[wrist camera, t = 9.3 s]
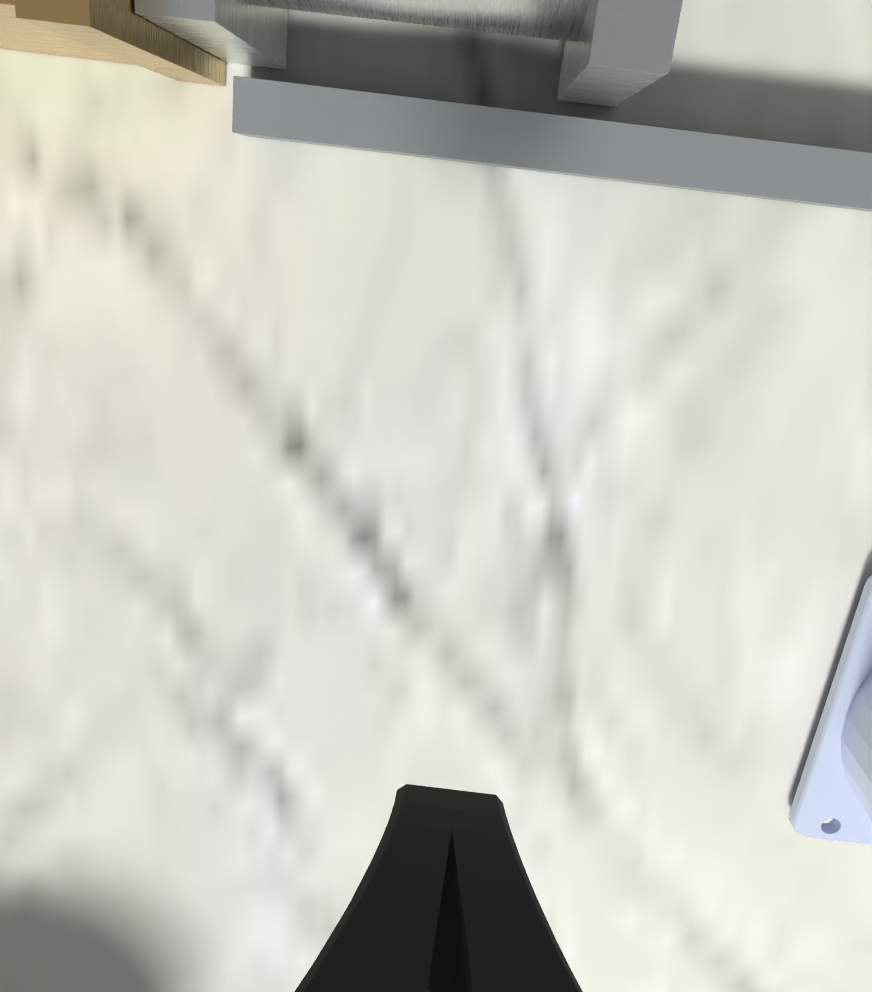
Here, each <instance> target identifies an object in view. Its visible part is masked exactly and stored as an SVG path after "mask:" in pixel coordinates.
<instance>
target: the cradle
mask: <svg viewBox="0 0 872 992" xmlns="http://www.w3.org/2000/svg"><path fill="white" fill-rule="evenodd" d="M232 132H234V133H238V134H242V135H245V136H251V137H259V138H267V139H276V140H284V141H292V142H300V143H309V144H317V145H325V146H334V147H342V148H350V149H358V150H367V151H375V152H383V153H392V154H400V155H408V156H416V157H425V158H433V159H441V160H450V161H458V162H466V163H474V164H483V165H491V166H499V167H508V168H516V169H524V170H532V171H541V172H549V173H557V174H566V175H574V176H582V177H590V178H599V179H607V180H615V181H624V182H632V183H640V184H648V185H657V186H665V187H673V188H682V189H690V190H698V191H706V192H715V193H723V194H731V195H740V196H748V197H756V198H764V199H773V200H781V201H789V202H798V203H806V204H814V205H822V206H831V207H839V208H847V209H856V210H864V211H872V153H869V152H860V151H852V150H844V149H835V148H827V147H819V146H811V145H802V144H794V143H786V142H777V141H769V140H761V139H753V138H744V137H736V136H728V135H720V134H711V133H703V132H695V131H686V130H678V129H670V128H662V127H653V126H645V125H637V124H628V123H620V122H612V121H604V120H595V119H587V118H579V117H570V116H562V115H554V114H546V113H537V112H529V111H521V110H512V109H504V108H496V107H488V106H479V105H471V104H463V103H454V102H446V101H438V100H430V99H421V98H413V97H405V96H396V95H388V94H380V93H372V92H363V91H355V90H347V89H338V88H330V87H322V86H314V85H305V84H297V83H289V82H280V81H272V80H264V79H256V78H247V77H239V76H234V81H233V123H232Z"/></svg>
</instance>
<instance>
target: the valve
mask: <svg viewBox="0 0 872 992" xmlns="http://www.w3.org/2000/svg"><path fill="white" fill-rule="evenodd" d="M0 48H2V49H10V50H19V51H27V52H35V53H44V54H52V55H60V56H68V57H77V58H85V59H93V60H102V61H110V62H118V63H126V64H135V65H139V66H142V67H144V68H147V69H149V70H152V71H154V72H157V73H160V74H162V75H165V76H167V77H170V78H173V79H175V80H178V81H187V82H195V83H203V84H211V85H220V86H225V80H226V61H224V60H222V59H220V58H218V57H216V56H214V55H213V54H211V53H209V52H207V51H205V50H203V49H201V48H200V47H198V46H196V45H194V44H192V43H190V42H188V41H187V40H185V39H183V38H181V37H179V36H177V35H175V34H174V33H172V32H170V31H168V30H166V29H164V28H162V27H160V26H159V25H157V24H155V23H153V22H151V21H149V20H147V19H146V18H144V17H142V16H140V15H138V14H136V13H135V0H0Z"/></svg>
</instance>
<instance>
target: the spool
mask: <svg viewBox="0 0 872 992" xmlns="http://www.w3.org/2000/svg"><path fill="white" fill-rule="evenodd" d="M682 1H683V0H135V13H136V14H138V15H140V16H142V17H144V18H146V19H147V20H149V21H151V22H153V23H155V24H157V25H159V26H160V27H162V28H164V29H166V30H168V31H170V32H172V33H174V34H175V35H177V36H179V37H181V38H183V39H185V40H187V41H188V42H190V43H192V44H194V45H196V46H198V47H200V48H201V49H203V50H205V51H207V52H209V53H211V54H213V55H214V56H216V57H218V58H220V59H222V60H224V61H226V62H227V63H234V64H242V65H251V66H260V67H269V68H278V69H286V59H287V32H288V10H297V11H306V12H315V13H324V14H333V15H341V16H350V17H359V18H368V19H377V20H386V21H395V22H403V23H412V24H421V25H430V26H439V27H448V28H457V29H466V30H474V31H483V32H492V33H501V34H510V35H519V36H528V37H537V38H545V39H554V40H563V41H565V44H564V51H563V58H562V65H561V72H560V79H559V86H558V93H557V100H561V101H570V102H579V103H588V104H597V105H606V106H616V105H618V104H619V103H621V102H623V101H624V100H626V99H628V98H629V97H631V96H632V95H634V94H636V93H637V92H639V91H641V90H642V89H644V88H645V87H647V86H649V85H650V84H652V83H654V82H655V81H657V80H658V79H660V78H662V77H663V76H665V75H667V74H668V73H669V71H670V66H671V60H672V55H673V49H674V44H675V38H676V33H677V28H678V22H679V17H680V11H681V6H682Z"/></svg>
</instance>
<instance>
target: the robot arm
mask: <svg viewBox="0 0 872 992" xmlns="http://www.w3.org/2000/svg"><path fill="white" fill-rule="evenodd" d="M827 819H833V820H832V821H830V822H828V823H823V822H824V821H825V820H827ZM789 820H790V822H791V824H792V826H793V828H794V830H795V832H796V833H798V834H799V835H801V836H804V837H808V838H817V839H825V840H833V841H841V842H850V843H858V844H866V845H872V575H871V576H870V577H869V578H868V580H867V582H866V583H865V585H864V588H863V591H862V595H861V598H860V601H859V604H858V607H857V610H856V613H855V616H854V619H853V622H852V625H851V628H850V631H849V634H848V637H847V640H846V643H845V646H844V649H843V652H842V655H841V658H840V661H839V664H838V667H837V670H836V673H835V676H834V679H833V682H832V685H831V688H830V691H829V694H828V697H827V700H826V703H825V706H824V709H823V712H822V715H821V718H820V722H819V725H818V728H817V731H816V734H815V737H814V740H813V743H812V746H811V749H810V752H809V755H808V758H807V761H806V764H805V767H804V770H803V773H802V776H801V779H800V782H799V785H798V788H797V791H796V794H795V797H794V800H793V803H792V806H791V809H790V812H789ZM822 823H823V824H822ZM295 992H582V990H581V988H580V986H579V984H578V982H577V980H576V978H575V977H574V975H573V973H572V971H571V969H570V967H569V965H568V963H567V961H566V959H565V957H564V955H563V953H562V951H561V949H560V947H559V945H558V943H557V941H556V939H555V937H554V935H553V932H552V930H551V928H550V926H549V924H548V921H547V919H546V917H545V915H544V913H543V911H542V908H541V906H540V904H539V902H538V900H537V897H536V895H535V893H534V890H533V888H532V886H531V883H530V881H529V878H528V876H527V873H526V871H525V868H524V866H523V863H522V861H521V858H520V855H519V853H518V850H517V847H516V844H515V842H514V839H513V836H512V833H511V830H510V827H509V824H508V820H507V817H506V814H505V810H504V806H503V803H502V802H501V800H500V799H499V798H498V797H497V795H492V794H484V793H476V792H467V791H459V790H451V789H442V788H434V787H426V786H417V785H409V784H406V785H404V786H403V787H401V788H400V789H398V790H397V793H396V798H395V803H394V806H393V809H392V813H391V816H390V819H389V821H388V824H387V827H386V829H385V832H384V834H383V837H382V839H381V841H380V843H379V846H378V848H377V850H376V852H375V855H374V857H373V859H372V861H371V863H370V865H369V867H368V869H367V871H366V873H365V875H364V877H363V879H362V881H361V882H360V884H359V886H358V888H357V890H356V892H355V894H354V896H353V898H352V900H351V902H350V904H349V905H348V907H347V909H346V911H345V912H344V914H343V916H342V917H341V919H340V921H339V922H338V924H337V926H336V927H335V929H334V931H333V932H332V934H331V936H330V937H329V939H328V940H327V942H326V944H325V945H324V947H323V949H322V950H321V952H320V954H319V955H318V957H317V959H316V960H315V962H314V963H313V965H312V966H311V968H310V969H309V971H308V972H307V974H306V975H305V977H304V978H303V980H302V981H301V983H300V984H299V986H298V987H297V989H296V990H295Z"/></svg>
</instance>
